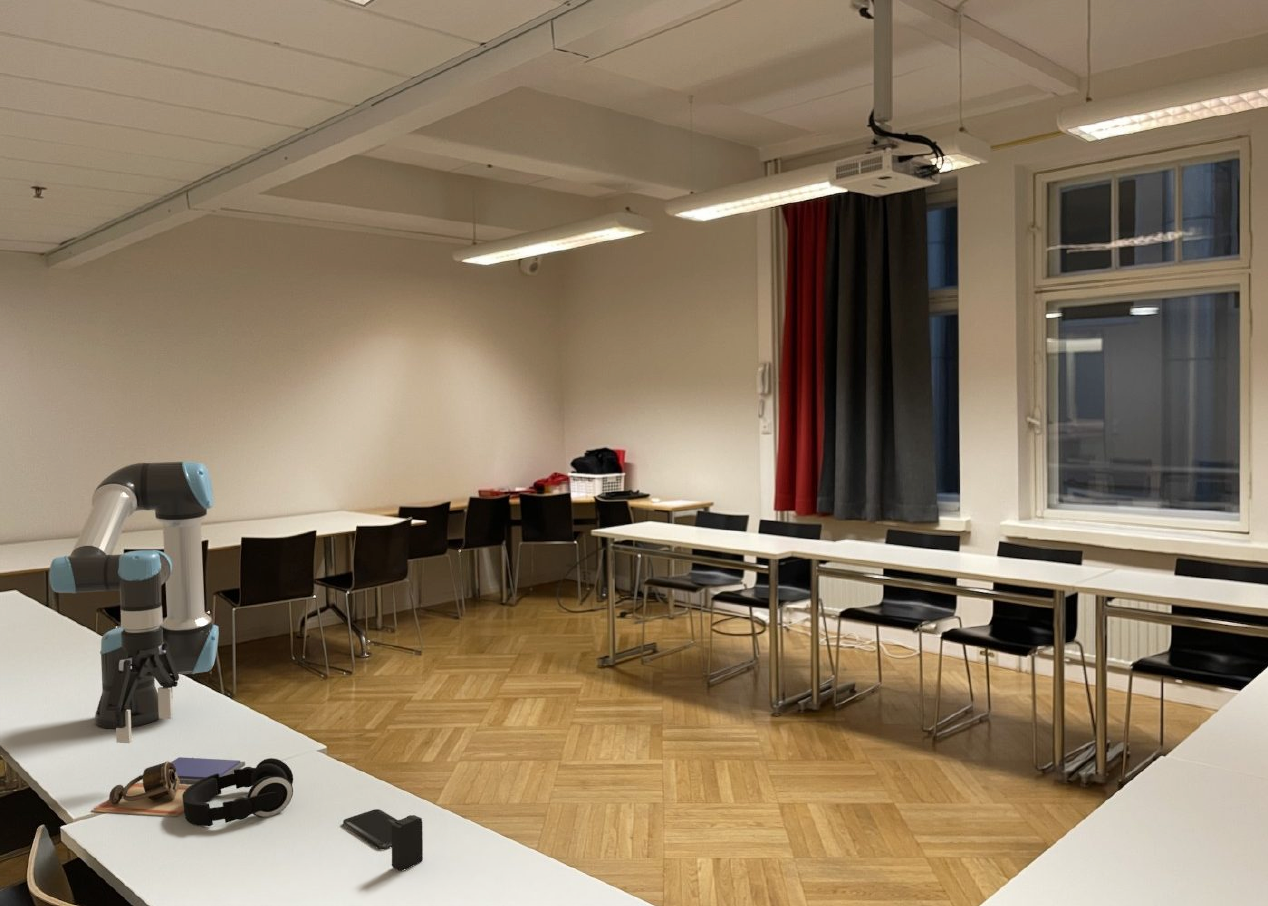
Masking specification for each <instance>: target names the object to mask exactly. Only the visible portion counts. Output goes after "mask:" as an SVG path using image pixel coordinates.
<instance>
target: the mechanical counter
mask: <svg viewBox="0 0 1268 906" xmlns="http://www.w3.org/2000/svg"><path fill="white" fill-rule="evenodd" d="M171 762H172V761H165V762H162V763H158V764H155V765H152V766H149V767H147V768H144V770H143V773H142V774H140V775H138V776H137V777H135V778H133V779H132V780H130V781H129V782H128V783H127V784H126V785H125V786H123V784H116V785H115V786H114V787H113V788H112V789H111V790H110V793H109V796H108V797H109V799H108V800H110V802H111V803H113V804H114V803H118V802H119V801H120V800H121V798H122V796H123V798H124V799H125V800H126V801H135V800H140V799H143V798H146V797H148V798H149V799H151V800H153V799H157V798H160V797H163V796H166V795H169V796H170V798H171V800H174V798H175V796H176V793H177V790H178V787H179V785H181V783H180V780H179V778H178V776H177V773H176V767H175V766H174V765H173V764H172V763H171ZM141 781H142V783H143V787H144V790H145V793H142V794H139V795H135V796H126V794H127V791H128V790H129V788H130V787H131V786H133V785H134V784H135V783H137V782H141Z"/></svg>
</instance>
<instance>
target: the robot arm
mask: <svg viewBox="0 0 1268 906" xmlns="http://www.w3.org/2000/svg"><path fill="white" fill-rule="evenodd" d="M211 479H212V478H211V475H210V472H209V470H208V467H207V466H206V465H205V464H204V463H201V462H194V461H193V462H192V461H169V462H168V461H167V462H165V461H164V462H137V463H132V464H129V465H125V466H123V467H121V468H119V469H117V470H115V471H114V472H112V473H110V475H108V476H107V477H106V478H104V479H103V480H102V481H101V482H100V483H99V484H98V485H97V486H96V488H95V490H94V492H93V494H92V497H91V505H92V508H91V510H90V513H89V514H88V517H87V519H86V521H85V523H84V525H83V527H82V529H81V532H80V534H79V536H78V538H77V540H76V543H75V545H74V546H73V549H72V551H71V553H70V555H64V556H59V557H55V558H54V559H53V560H52V561H51V563H50V566H49V573H48V574H49V576H48V577H49V585H50V587H51V590H52V591H53V592H54V593H59V594H79V593H93V592H95V593H97V592H108V591H111V592H113V591H114V592H116V591H117V592H118V591H119V601H120V602H119V605H120V626H119V627H116V628H113V629H111V630H108V631H107V632H105V633H104V634H103V635H102V637H101V641H100V651H99V653H100V660H101V661H100V662H101V663H100V664H101V683H102V684H101V685H102V687H101V688H102V691H101V695H100V698H99V701H98V705H97V708H96V711H95V715H94V721H95V723H94V724H95V726H97V727H99V728H103V729H104V728H105V729H115V731H116V732H115V734H116V737H115V738H116V744H117V743H119V744H121V743H122V744H131V743H132V742H133V740H132V738H133V737H132V728H133V727H138V726H142V725H146V724H149V723H152V722H155V721H157V720H159V719H164V720H165V719H166V720H172V719H173V718H174V713H173V710H174V709H173V698H174V697H173V688H175V687H177V686H178V681H179V680H180V676H179V675H189V674H190V675H195V674H198V673H205V672H206V673H207V672H210V671H211V670H212V669H213V667H214V664H215V661H216V656H217V652H218V645H219V644H218V643H219V636H220V635H219V632H220V631H219V626H218V625H216V624H213V625H212V623H213V622H212V617H211V616H209V615H208V614H207V613H206V612H205V594H204V593H205V591H204V590H205V589H204V569H203V549H202V548H203V547H202V545H203V543H202V524H201V523H202V521H203V520H204V519H205V518H206V517H207V516H208V513H207V511H208V510H209V509H212V508H213V506H214V491H213V484H212V480H211ZM137 511H154V514H155V515H154V516H155V519H156V520H157V521H158V522H159V523H160V524H162V535H163V538H162V539H163V551H161V550H156V549H150V550H148V549H147V550H146V549H145V550H144V549H140V550H132V551H131V550H130V551H127V552H124V553H122V554H114V552H115V549H116V546H117V543H118V542H119V539H120V537H121V534H122V531H123V529H124V527H125V525H126V522H127V520H128V518H129V517H131V516H132V515H133V514H134V513H135V512H137ZM164 584H165V595H166V597H165V598H166V600H165V601H166V615H167V616H166V617H165V618H163V605H162V603H163V602H162V586H163V585H164ZM163 619H164V620H163ZM155 680H156V681H157V683H158V684H159V686H160V687H158V688H156V683H155Z"/></svg>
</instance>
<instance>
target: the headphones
mask: <svg viewBox="0 0 1268 906" xmlns="http://www.w3.org/2000/svg"><path fill="white" fill-rule="evenodd" d="M293 783H294V775H293V772H292V769H291V768H290V767H289V766H288V765H287V763H286V762H284V761H283V760H280V759H278V758H272V757H271V758H265V759H263V760H261V761H260V762H259V763H258V764H257V765H256V767H251V766H246V767H245V766H244V767H242V768H240V769H235V770H234V773H233V774H229V775H225V776H222V777H219V774H218V773H216V774H214V775H211V776H208V777H206V778H204V779H201V780H199V781H198V782H196V783H194V784H193V783H192V784H191V785H190V787H188V788H187V789H186V790H185V791H184V793H183V795H182V799H183V805H184V816H185V820H186V821H187V822H188V823H189V824H191V825H193V826H199V827H211V826H213V825H214V822H215V821H216V822H217V821H221V820H224V822H225V824H227V823H230V822H233V821H237V820H238V821H239V820H240V821H241V820H245V819H247V818H248V817H249V816H251V815H253V816H255V817H258V818H262V819H264V818H270V817H273V816H276V815H278V814H281V812H283V811H284V810H285V809H286V808H287V807H288V805H289V804H290V802H291V800H292V799H293V798H292V797H293V795H294V787H293ZM233 786H235V788H236V790H237V789H238V790H239V789H241V788H249V790H248V793H247V796H246V797H243V796H242V797H241V796H240V797H237V798H235V799H234V800H228V801H222V806H217V807H215V806H214V807H211V805H210V803H207V802H206V801H208V800H210V799H212V798H214V797H216V796H220V795H221V794H222V790H223V789H227V788H230V787H233Z"/></svg>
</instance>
